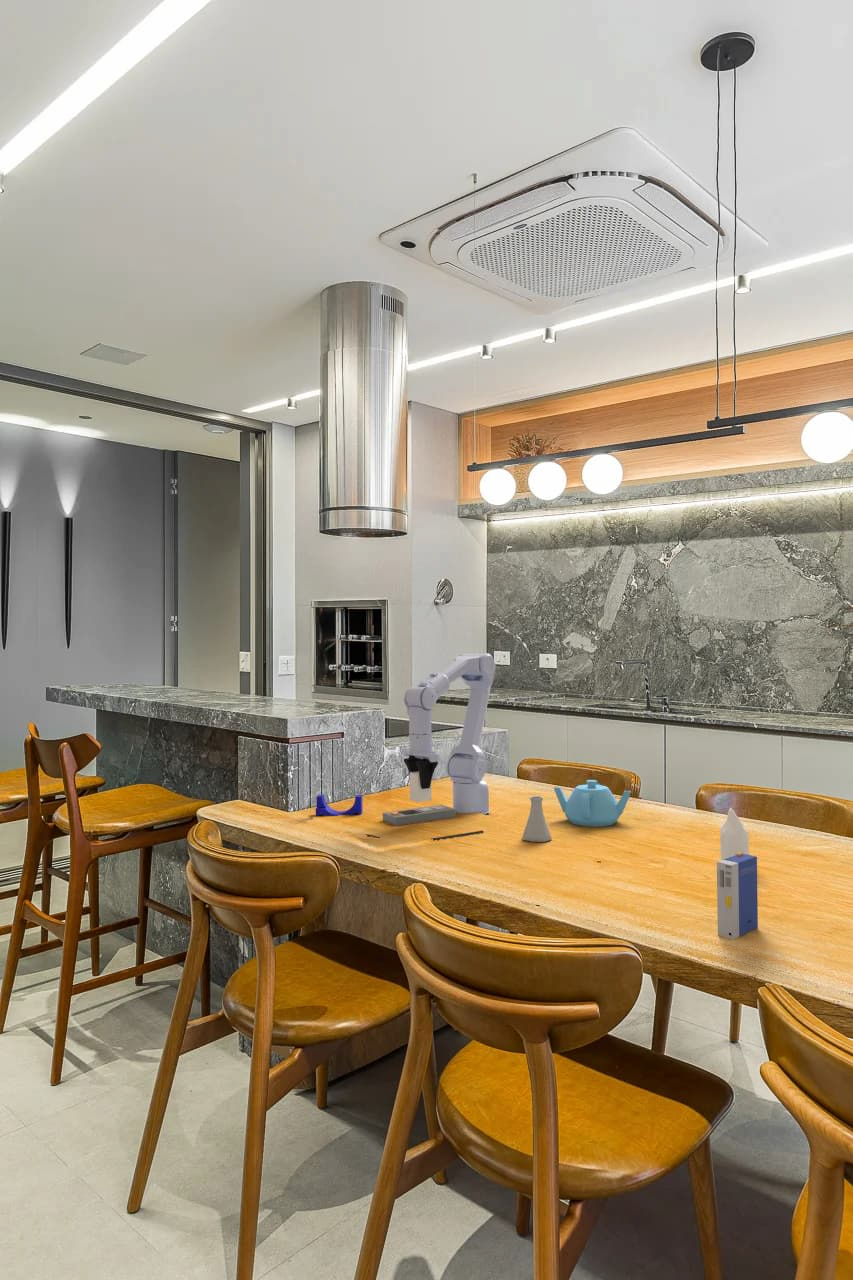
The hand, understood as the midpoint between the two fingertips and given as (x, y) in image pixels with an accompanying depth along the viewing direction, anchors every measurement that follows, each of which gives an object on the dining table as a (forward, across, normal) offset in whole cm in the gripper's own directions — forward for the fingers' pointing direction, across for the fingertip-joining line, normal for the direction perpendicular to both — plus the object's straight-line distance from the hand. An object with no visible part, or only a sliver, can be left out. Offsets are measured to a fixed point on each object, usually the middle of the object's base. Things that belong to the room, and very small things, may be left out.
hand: (420, 787), depth 208 cm
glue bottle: (+10, +67, +36) cm, 77 cm away
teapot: (+10, +19, +40) cm, 46 cm away
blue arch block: (+10, -21, -13) cm, 27 cm away
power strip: (+10, -4, +2) cm, 11 cm away
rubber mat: (+10, +10, +2) cm, 14 cm away
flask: (+10, +26, +16) cm, 33 cm away
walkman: (+10, +92, +5) cm, 93 cm away
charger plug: (+3, 0, 0) cm, 3 cm away
